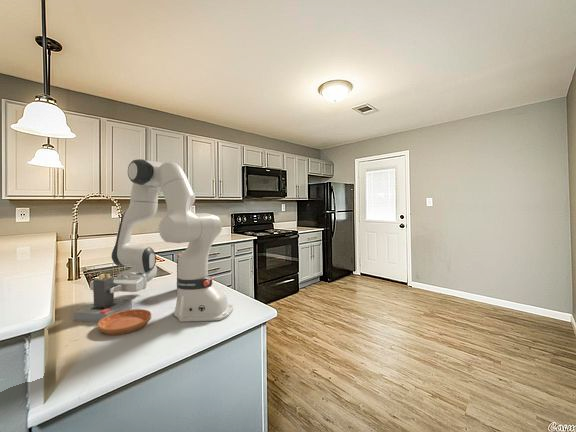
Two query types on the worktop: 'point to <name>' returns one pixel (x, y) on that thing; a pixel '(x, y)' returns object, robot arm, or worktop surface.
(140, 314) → the saucer
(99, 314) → the socket
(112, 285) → the plug
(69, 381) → the worktop surface
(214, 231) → the robot arm
